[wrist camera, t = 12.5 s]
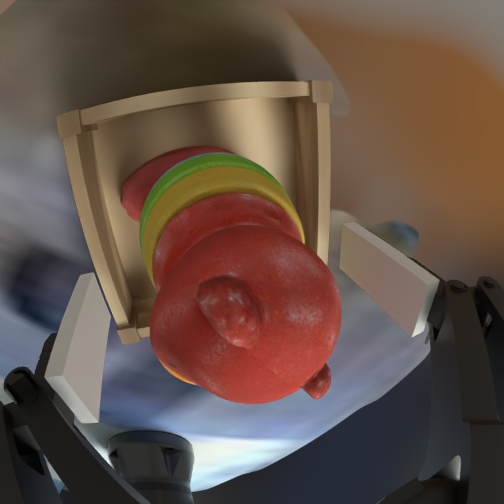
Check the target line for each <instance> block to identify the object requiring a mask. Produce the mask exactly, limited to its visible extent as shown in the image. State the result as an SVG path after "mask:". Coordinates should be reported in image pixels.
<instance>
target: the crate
mask: <svg viewBox="0 0 504 504" xmlns="http://www.w3.org/2000/svg"><path fill="white" fill-rule="evenodd" d="M329 103H333V87H332V81H317V80H310V81H305V82H244V83H228V84H216V85H205V86H196V87H188V88H181V89H174V90H168V91H162V92H156V93H150V94H145V95H140V96H135V97H130V98H126V99H121V100H117V101H113V102H109V103H105V104H101V105H97V106H94V107H90V108H87V109H76V110H73V111H70V112H67V113H64V114H61V115H58V116H56V120H57V128H58V135H59V140H61V139H63V144H64V150H65V156H66V161H67V166H68V171H69V176H70V181H71V185H72V190H73V194H74V198H75V202H76V206H77V210H78V214H79V217H80V221H81V225H82V228H83V232H84V235H85V238H86V242H87V245H88V248H89V251H90V254H91V257H92V260H93V263H94V266H95V269H96V272H97V275H98V277H99V280H100V283H101V286H102V288H103V291H104V294H105V296H106V299H107V301H108V304H109V306H110V309H111V311H112V313H113V316H114V318H115V321H116V323H117V325H118V326H117V332H118V334H119V336H120V338H121V341H122V343H123V345H124V344H130V343H136V342H141V338H142V337H148V336H150V317H151V311H152V308H153V305H154V301H155V298H156V296H157V291H156V289H155V287H154V285H153V284H152V281H151V279H150V277H149V274H148V271H147V268H146V266H145V263H144V260H143V257H142V253H141V247H140V238H139V226H140V222H138V221H135V220H134V219H132V218H131V217H129V215H128V214H127V210H126V209H124V208H123V207H122V205H121V202H120V199H121V196H122V195H123V193H122V190H121V187H122V185H123V183H124V181H125V180H126V179H127V178H128V177H129V176H130V175H131V174H132V173H133V172H134V171H135V170H136V169H138V168H139V167H140V166H142V165H143V164H144V163H146V162H148V161H149V160H151V159H153V158H155V157H157V156H159V155H161V154H164V153H166V152H169V151H172V150H176V149H180V148H185V147H191V146H215V147H220V148H223V149H226V150H229V151H231V152H233V153H234V154H236V155H239V156H242V157H245V158H247V159H249V160H251V161H253V162H255V163H257V164H258V165H260V166H262V167H263V168H264V169H266V170H267V171H268V172H269V173H270V174H271V175H273V176H274V178H275V179H276V180H277V181H278V182H279V183H280V184H281V186H282V187H283V188H284V190H285V191H286V193H287V194H288V196H289V198H290V200H291V202H292V204H293V206H294V208H295V210H296V211H297V214H298V216H299V218H300V221H301V224H302V228H303V232H304V238H305V245H306V246H308V247H309V248H310V249H311V250H313V251H314V252H315V253H316V254H317V255H318V256H319V257H320V258H321V259H322V260H323V262H324V263H325V264H326V265H327V259H328V242H329V219H330V111H329Z"/></svg>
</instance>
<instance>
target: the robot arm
mask: <svg viewBox="0 0 504 504" xmlns="http://www.w3.org/2000/svg"><path fill="white" fill-rule="evenodd" d="M339 268H340V269H342V270H343V271H344V272H345V273H346V274H347V275H348V276H349V277H350V278H351V279H352V280H353V281H354V282H355V283H357V284H358V285H359V286H360V287H361V288H362V289H363V290H364V291H365V292H366V293H367V294H368V295H369V296H370V297H371V298H372V299H373V300H374V301H376V302H377V303H378V304H379V305H380V306H381V307H382V308H383V309H384V310H385V311H386V312H387V313H388V314H389V315H390V316H391V317H392V318H393V319H394V320H395V321H396V322H397V323H398V324H399V325H400V326H401V327H402V328H403V329H404V330H405V331H406V332H407V333H408V334H409V335H410V336H411V337H413V336H415V335H417V334H419V333H421V332H423V331H424V328H425V325H426V322H427V321H428V322H429V323H430V324H431V328H430V330H429V333H428V336H427V338H426V341H425V344H427V343H428V340H429V339H430V346H431V371H432V372H431V374H432V375H431V376H432V378H431V380H432V381H431V384H432V386H431V418H430V433H429V444H428V453H427V459H426V463H425V464H424V466H423V468H422V470H421V473H420V475H419V479H417V477H416V478H415V479H413V480H412V481H410V482H408V483H407V484H405V485H404V486H402V487H400V488H399V489H398V490H396V491H394V492H392V493H390V494H389V495H387V496H386V497H385V498H383V499H382V500H381V501H379V502H378V503H377V504H504V290H503V289H502V287H501V286H500V284H499V283H498V282H497V281H496V280H494V279H493V278H491V277H486V276H482V277H480V278H478V281H477V284H476V286H475V287H468V286H467V285H466V284H465V283H463V282H461V281H458V280H449V281H447V282H446V281H444V280H443V279H442V278H440V277H439V276H438V275H436V274H435V273H433V272H432V271H431V270H429V269H427V268H426V267H425V266H424V265H421V263H419V262H418V261H416V260H415V259H413V258H410V257H408V256H405V255H403V254H402V253H401V252H399V251H398V250H396V249H395V248H393V247H392V246H390V245H389V244H387V243H386V242H384V241H383V240H381V239H380V238H378V237H376V236H375V235H373V234H372V233H370V232H369V231H367V230H366V229H364V228H363V227H361V226H359V225H358V224H356V223H355V222H351V223H345V224H342V240H341V255H340V267H339ZM489 315H491V317H492V321H491V323H490V325H488V324H487V320H488V318H489ZM110 319H111V316H110V314H109V311H108V309H107V306H106V304H105V301H104V299H103V296H102V294H101V291H100V288H99V286H98V283H97V280H96V277H95V275H94V272H93V273H88V274H83V275H80V277H79V279H78V282H77V284H76V286H75V289H74V291H73V294H72V296H71V299H70V301H69V304H68V306H67V309H66V312H65V314H64V317H63V320H62V322H61V325H60V328H59V331H58V333H52V334H51V335H50V336H49V337H48V339H47V340H46V341H45V343H44V346H43V349H42V353H41V355H40V360H39V361H38V364H37V367H36V370H35V373H34V375H33V373H32V372H31V371H30V370H29V369H28V368H27V367H18V368H16V369H14V370H12V371H11V372H10V373H9V374H8V375H7V377H6V378H5V381H4V385H3V386H4V391H5V392H6V393H7V394H8V395H9V397H10V398H11V399H12V400H13V401H14V402H12V403H9V404H6V405H3V403H2V402H1V401H0V504H194V502H193V498H192V494H191V489H190V482H191V476H192V470H193V464H194V453H193V448H192V445H191V444H190V443H189V442H188V441H187V440H185V439H183V438H181V437H178V436H176V435H172V434H168V433H162V432H153V431H134V432H127V433H122V434H119V435H116V436H114V437H112V438H111V439H110V440H109V441H108V458H109V460H110V463H111V466H112V467H111V466H110V465H109V464H108V463H107V461H106V460H105V459H104V458H103V457H102V456H101V455H100V454H99V453H98V452H97V451H96V449H95V448H94V447H93V446H92V445H91V444H90V442H89V441H88V440H87V439H86V438H85V436H84V435H83V434H82V433H81V432H80V430H79V429H78V428H77V427H76V426H75V425H74V417H75V416H76V417H77V418H78V420H79V421H80V422H81V423H99V411H100V397H101V386H102V376H103V367H104V359H105V352H106V344H107V338H108V331H109V325H110ZM497 413H498V416H499V419H500V421H499V420H498V417H497ZM44 455H45V457H46V458H47V460H48V462H49V463H50V465H51V466H52V468H53V469H54V471H55V472H56V473H57V475H58V476H59V478H60V479H61V481H60V480H57V479H53V478H52V476H51V473H50V471H49V468H48V465H47V463H46V460H45V457H44Z"/></svg>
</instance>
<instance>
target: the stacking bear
mask: <svg viewBox="0 0 504 504" xmlns="http://www.w3.org/2000/svg"><path fill="white" fill-rule="evenodd" d="M121 190H122V193H123V195H122V196H121V199H120V202H121V205H122V207H123V208H124V209H126V210H127V214H128V215H129V217H131V218H132V219H134V220H135V221H138V222H140V226H139V238H140V247H141V253H142V257H143V260H144V263H145V266H146V268H147V271H148V274H149V277H150V279H151V281H152V284H153V285H154V287H155V289H156V291H157V296H156V298H155V301H154V305H153V308H152V311H151V317H150V340H151V344H152V347H153V350H154V352H155V354H156V356H157V357H158V359H159V360H160V362H161V363H162V365H163V366H164V367H165V368H166V369H167V370H168V371H169V372H170V373H171V374H172V375H174V376H175V377H177V378H179V379H181V380H182V381H185V382H188V383H191V384H195V385H199V386H201V387H203V388H204V389H206V390H207V391H209V392H211V393H213V394H215V395H216V396H218V397H221V398H223V399H226V400H228V401H232V402H236V403H243V404H262V403H267V402H271V401H275V400H278V399H281V398H284V397H286V396H288V395H290V394H292V393H293V392H295V391H297V390H298V389H300V388H303V389H304V390H305V391H306V392H307V393H308V394H309V395H310V396H311V397H312V398H314V399H319V398H321V397H322V396H323V395H324V394H325V393H326V392H327V390H328V389H329V387H330V383H331V373H330V369H329V367H328V366H327V364H326V361H327V360H328V358H329V357H330V355H331V353H332V351H333V349H334V346H335V344H336V341H337V338H338V335H339V331H340V325H341V313H342V311H341V298H340V293H339V289H338V286H337V284H336V281H335V279H334V277H333V275H332V273H331V272H330V270H329V268H328V267H327V265H326V264H325V263H324V262H323V260H322V259H321V258H320V257H319V256H318V255H317V254H316V253H315V252H314V251H313V250H311V249H310V248H309V247H308V246H306V245H305V238H304V232H303V228H302V224H301V221H300V218H299V216H298V214H297V211H296V210H295V208H294V206H293V204H292V202H291V200H290V198H289V196H288V194H287V193H286V191H285V190H284V188H283V187H282V186H281V184H280V183H279V182H278V181H277V180H276V179H275V178H274V176H273V175H271V174H270V173H269V172H268V171H267V170H266V169H264V168H263V167H262V166H260V165H258V164H257V163H255V162H253V161H251V160H249V159H247V158H245V157H242V156H239V155H236V154H234V153H233V152H231V151H229V150H226V149H223V148H220V147H215V146H191V147H185V148H180V149H176V150H172V151H169V152H166V153H164V154H161V155H159V156H157V157H155V158H153V159H151V160H149V161H148V162H146V163H144V164H143V165H142V166H140V167H139V168H138V169H136V170H135V171H134V172H133V173H132V174H131V175H130V176H129V177H128V178H127V179H126V180H125V181H124V183H123V185H122V187H121Z"/></svg>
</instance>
